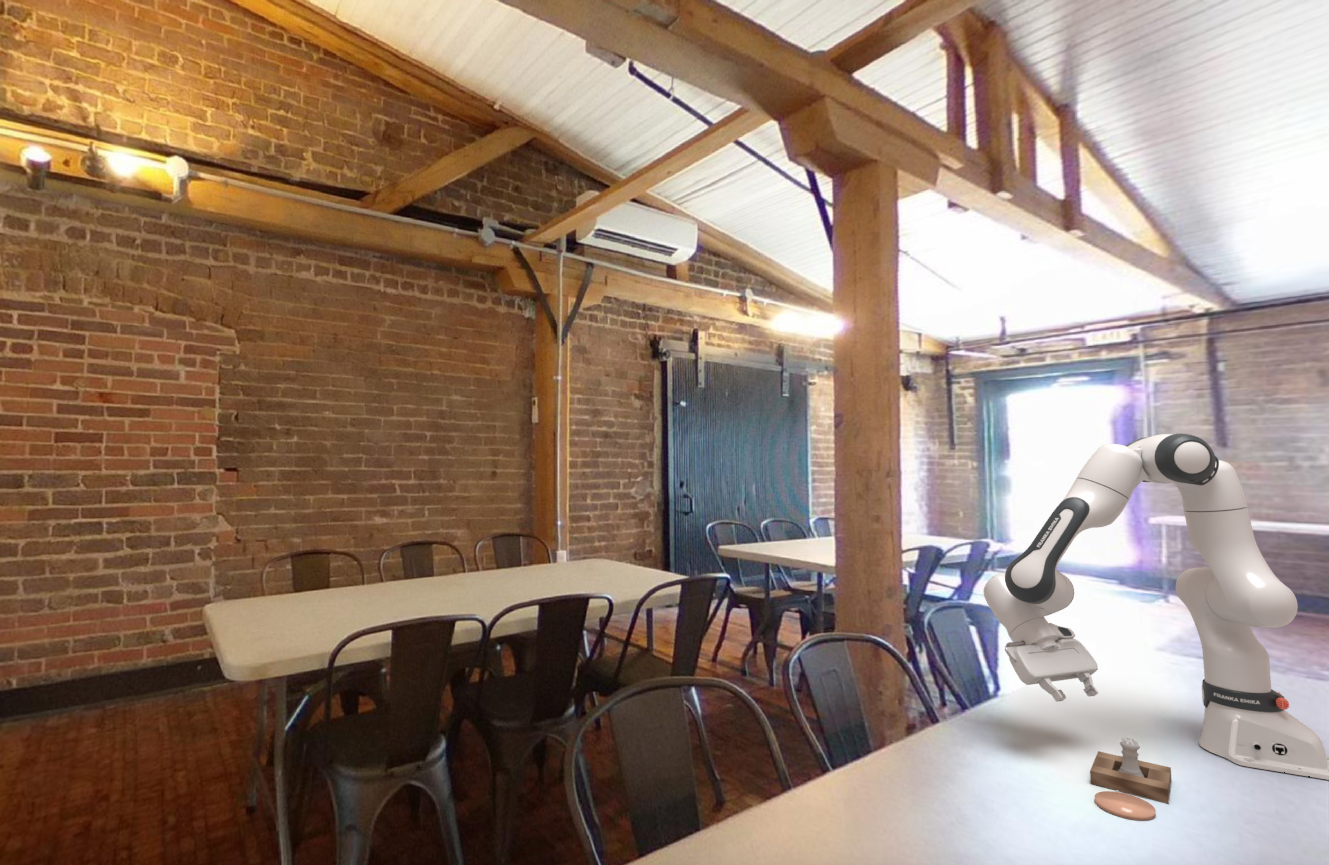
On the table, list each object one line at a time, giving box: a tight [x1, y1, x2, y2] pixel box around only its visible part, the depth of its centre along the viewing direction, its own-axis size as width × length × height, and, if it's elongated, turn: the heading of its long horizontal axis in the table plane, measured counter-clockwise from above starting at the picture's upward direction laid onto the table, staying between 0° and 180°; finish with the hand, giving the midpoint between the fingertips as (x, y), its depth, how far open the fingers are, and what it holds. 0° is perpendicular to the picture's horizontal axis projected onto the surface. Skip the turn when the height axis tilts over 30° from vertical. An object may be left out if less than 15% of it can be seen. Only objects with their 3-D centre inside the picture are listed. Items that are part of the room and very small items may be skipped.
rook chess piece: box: [1118, 737, 1144, 777], centre depth 128 cm, size 4×4×8 cm
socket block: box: [1089, 751, 1172, 804], centre depth 128 cm, size 12×12×2 cm
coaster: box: [1094, 790, 1157, 822], centre depth 118 cm, size 9×9×1 cm
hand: (1078, 697), depth 139 cm, fingers open, 8 cm apart
